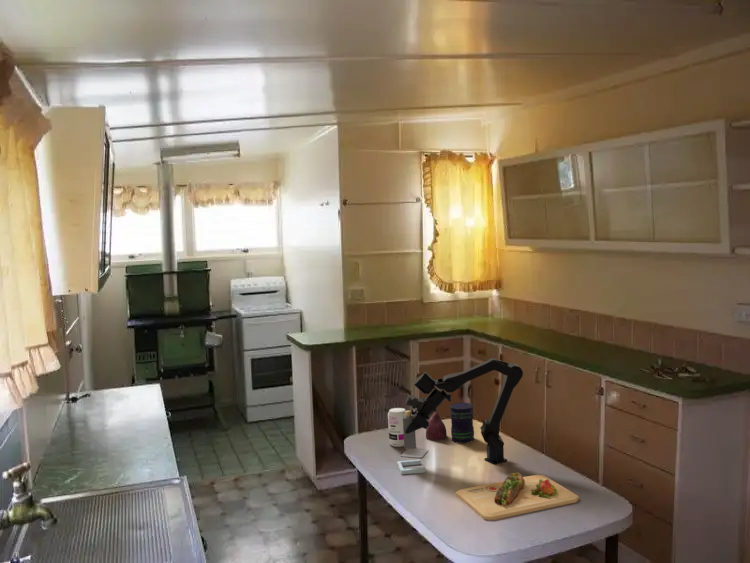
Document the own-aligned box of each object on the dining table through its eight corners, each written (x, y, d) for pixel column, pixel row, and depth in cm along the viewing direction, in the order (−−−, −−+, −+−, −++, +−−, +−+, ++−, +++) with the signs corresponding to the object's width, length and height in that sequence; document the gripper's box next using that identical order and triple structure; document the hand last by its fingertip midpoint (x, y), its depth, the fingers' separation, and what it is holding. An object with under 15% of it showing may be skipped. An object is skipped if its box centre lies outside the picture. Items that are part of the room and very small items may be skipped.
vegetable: (447, 446, 283) (450, 418, 278) (425, 444, 283) (428, 417, 278) (445, 434, 292) (448, 407, 287) (424, 432, 292) (427, 405, 287)
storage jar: (464, 445, 274) (462, 410, 273) (446, 440, 282) (445, 406, 280) (479, 438, 281) (477, 404, 280) (461, 434, 288) (460, 401, 287)
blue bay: (420, 463, 256) (420, 459, 256) (425, 472, 246) (425, 468, 246) (397, 465, 255) (397, 461, 255) (401, 474, 245) (401, 470, 245)
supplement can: (408, 440, 283) (407, 407, 282) (407, 447, 275) (406, 412, 274) (390, 441, 284) (388, 407, 283) (388, 447, 276) (386, 412, 275)
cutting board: (541, 478, 236) (540, 457, 236) (581, 502, 214) (580, 480, 213) (453, 495, 225) (452, 474, 225) (486, 523, 203) (485, 500, 202)
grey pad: (428, 450, 270) (428, 450, 270) (421, 458, 261) (421, 457, 261) (407, 449, 273) (407, 448, 273) (400, 456, 265) (400, 455, 265)
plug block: (415, 444, 257) (413, 409, 256) (416, 448, 252) (414, 412, 251) (404, 444, 257) (402, 410, 256) (404, 448, 252) (402, 413, 251)
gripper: (416, 382, 262) (390, 410, 263) (418, 394, 243) (390, 424, 245) (436, 400, 263) (410, 428, 264) (440, 413, 244) (412, 444, 245)
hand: (405, 430), depth 254 cm, fingers closed on plug block, 4 cm apart
